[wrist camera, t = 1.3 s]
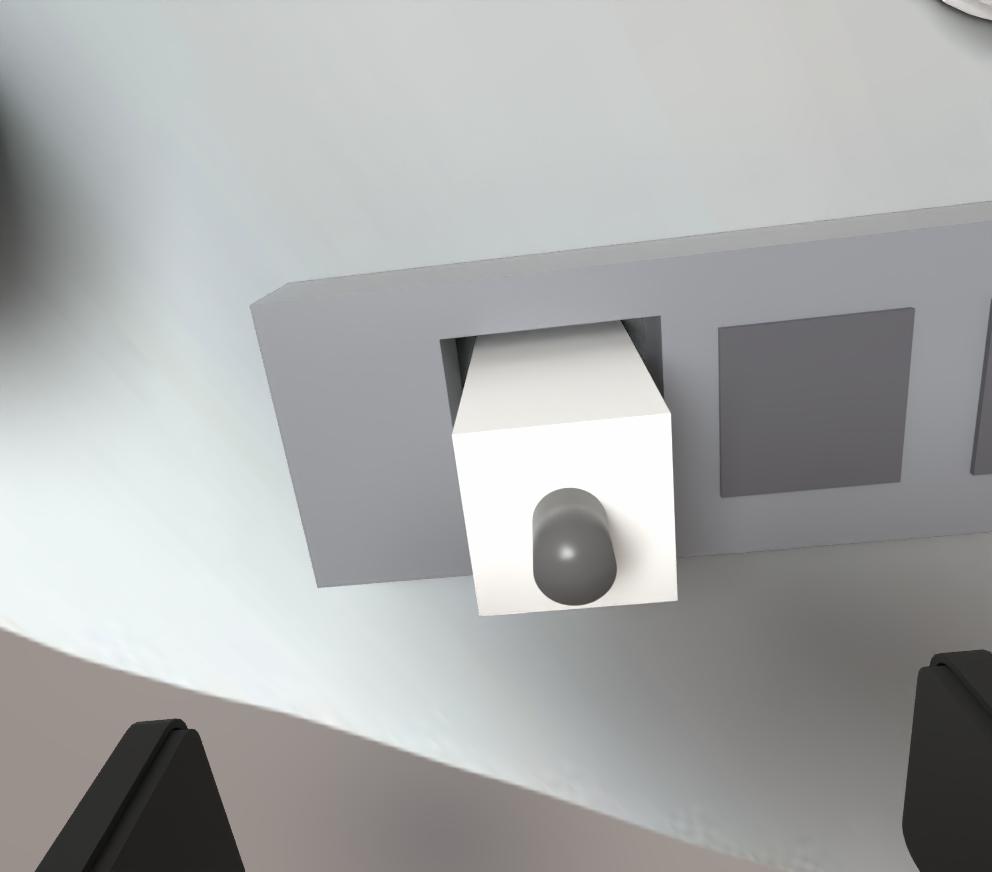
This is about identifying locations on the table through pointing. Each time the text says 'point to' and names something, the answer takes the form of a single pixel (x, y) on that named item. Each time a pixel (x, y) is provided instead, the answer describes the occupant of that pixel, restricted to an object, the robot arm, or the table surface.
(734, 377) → the power strip
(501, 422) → the charger
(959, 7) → the coaster
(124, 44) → the table surface
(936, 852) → the robot arm
